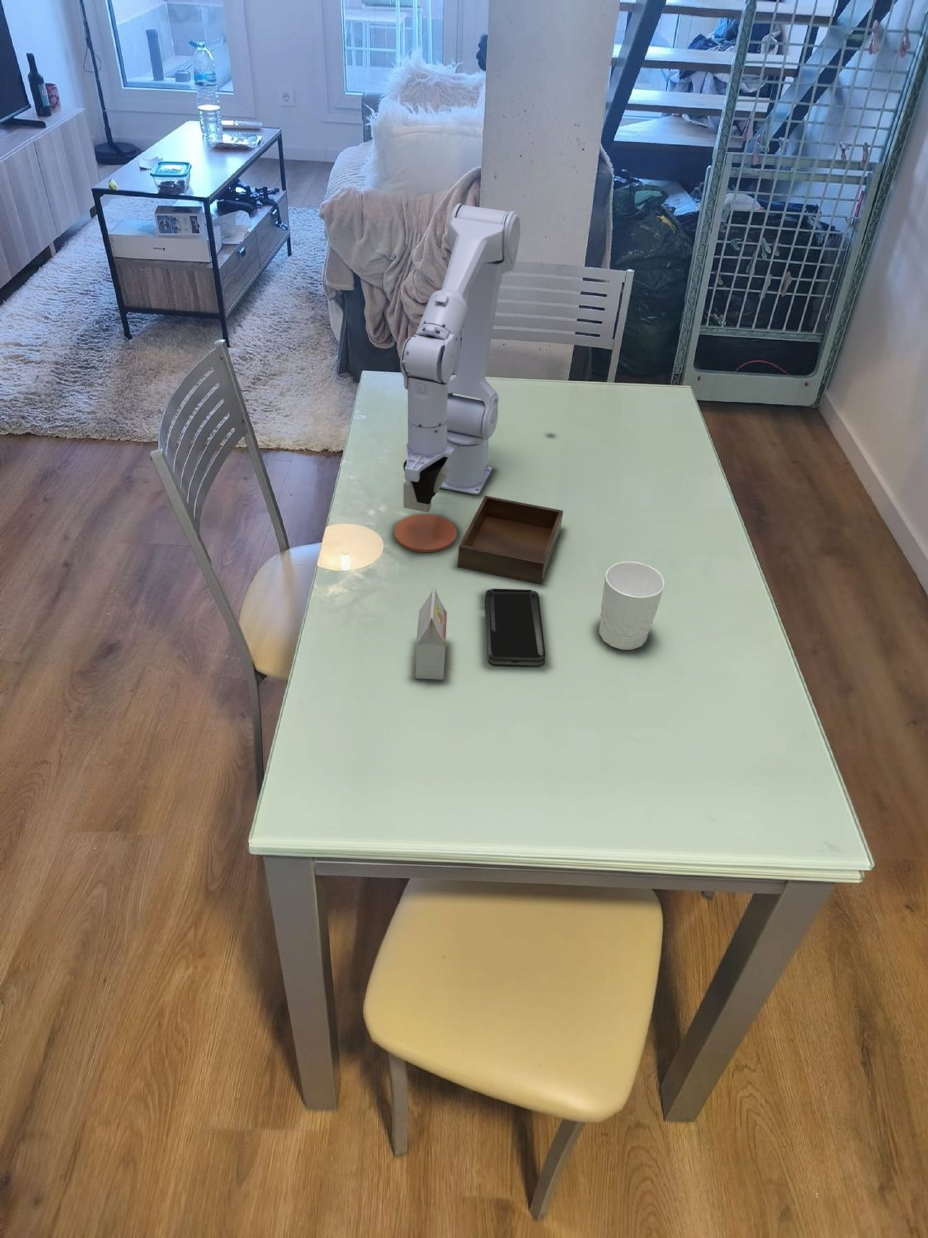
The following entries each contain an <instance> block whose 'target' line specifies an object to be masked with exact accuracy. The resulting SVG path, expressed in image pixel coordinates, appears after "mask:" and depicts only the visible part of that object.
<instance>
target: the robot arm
mask: <svg viewBox="0 0 928 1238" xmlns="http://www.w3.org/2000/svg"><path fill="white" fill-rule="evenodd" d="M520 238H521V220H520V216H519V215H518V212H517V211H516V210H510V211H508V210H501V209H494V208H487V207H482V206H481V207H479V206H475V205H474V206H473V205H468V204H467V205H466V204H464V203H461V202H459V203H457V204H456V205H455V206H454V207H453V208H452V210H451V212H450V215H449V219H448V224H447V239H448V243H449V250H450V253H451V254H450V258H449V262H448V265H447V269H446V272H445V276H444V279H443V283H442V287H441V289H439V290H436V291H434V292H433V293H432V294H431V295H430V296H429V300H428V302H427V305H426V307H425V309H424V312H423V314H422V316H421V319H420V322H419V325H418V327H417V329H416V332H415V334H413V336H411V337H407V338H406V339H405V341H404V343H403V346H402V349H401V354H400V362H399V363H400V364H399V365H400V367H399V368H400V373H401V375H402V377H403V387H404V389H406V390H407V443H406V458H405V460H404V461H403V471H404V481H406V480H409V481H411V483H412V486H413V489H414V493H415V496H416V500H417V502H419V503H424V504H430V503H431V504H432V500H433V497H435V496H436V494H437V493H435V492H433V491H434V485H435V481H436V478H437V476H438V474H439V472H440V470H441V469H442V467H443V465H444V466H445V467H447V468H448V469H450V470H451V471H450V472H449V474H448V475H447V477H446V479H445V480H444V482H443V483H442V485H441V486H440V488H439V489H444V490H448V491H449V490H451V491H455V492H461V493H465V494H471V495H475V496H478V495H480V494H481V491H482V489H483V488H484V486H485V483H486V482H487V480H488V477H489V476H490V474H491V472H492V469H493V468H492V466H489V465H488V453H489V439H490V438H491V437H493V435H494V433H495V431H496V428H497V423H498V418H499V417H498V416H499V409H498V408H499V394H498V392H497V391H496V390H495V388H493V386H492V385H491V384H490V383H489V382H488V381H487V380H486V374H487V368H488V361H489V357H490V351H491V343H492V338H493V330H494V325H495V324H494V323H495V318H496V312H497V306H498V299H499V294H500V287H501V283H502V280H503V276H504V274H506V273H509V272H511V271H513V270H514V268H515V264H516V262H517V256H518V249H519V244H520ZM466 298H467V300H466ZM461 332H462V335H461ZM460 335H461V342H460V348H459V346H458V340H459V338H460ZM458 349H459V354H458ZM457 354H458V362H457V368H456V374H455V375H456V376H454V377H452V376H453V373H454V369H455V366H456V358H457Z"/></svg>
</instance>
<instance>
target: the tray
mask: <svg viewBox="0 0 928 1238" xmlns="http://www.w3.org/2000/svg"><path fill="white" fill-rule="evenodd" d="M563 515H564V510H563V509H557V508H552V507H546V506H541V505H535V504H531V503H525V502H521V501H515V500H510V499H505V498H499V497H494V496H489V495H484V497H483V498H482V501H481V502H480V504H479V506H478V508H477V510H476V512H475V514H474V516H473V518H472V520H471V522H470V523H469V525H468V528H467V530H466V532H465V534H464V536H463V537H462V539H461V541H460V543H459V546H458V557H457V567H458V568H462V569H468V570H472V571H476V572H481V573H485V574H491V575H495V576H500V577H505V578H510V579H514V580H519V581H524V582H527V583H534V584H539V585H542V583H543V580H544V578H545V575H546V571H547V569H548V566H549V564H550V561H551V558H552V556H553V553H554V550H555V547H556V544H557V541H558V539H559V536H560V533H561V531H562V523H563Z"/></svg>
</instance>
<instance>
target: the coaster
mask: <svg viewBox="0 0 928 1238" xmlns="http://www.w3.org/2000/svg"><path fill="white" fill-rule="evenodd" d="M457 533H458V531H457V528H456V526H455V525H454V523H453V522H451V521H450V520H449V519H447V518H445V517H442V516H440V515H436V514H431V513H429V514H428V513H419V514H414V515H410V516H407V517H405V518H403V519H401V520H400V521H399V522H398V523H397V524H396V525H395V527H394V538H395V540H396V541H397V543H398V544H399V545H401V546H402V547H403V548H405V549H407V550H409V551H413V552H418V553H436V552H441V551H443V550H445V549H448V548H449V547H451V546H452V545H453V544H454V543H455V541H456V539H457Z"/></svg>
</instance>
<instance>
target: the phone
mask: <svg viewBox="0 0 928 1238" xmlns="http://www.w3.org/2000/svg"><path fill="white" fill-rule="evenodd" d="M484 597H485V599H484V603H485V604H484V614H485V628H486V651H487V652H486V654H487V661H488V662H489V663H490V664H492V665H494V666H495V665H496V666H498V665H499V666H525V667H526V666H527V667H528V666H530V667H532V666H533V667H540V666H541V665H543V664H544V663H545V661H546V648H545V646H546V645H545V638H544V630H543V621H542V620H543V619H542V613H541V612H542V611H541V604H540V595H539V593H538V592H537V591H536V590H534V589H520V588H519V589H516V588H489V589H487V590H486V591H485V595H484Z"/></svg>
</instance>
